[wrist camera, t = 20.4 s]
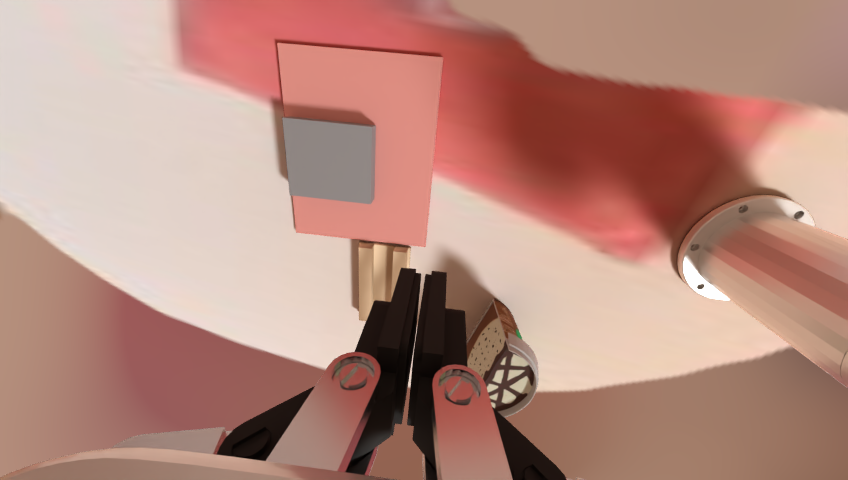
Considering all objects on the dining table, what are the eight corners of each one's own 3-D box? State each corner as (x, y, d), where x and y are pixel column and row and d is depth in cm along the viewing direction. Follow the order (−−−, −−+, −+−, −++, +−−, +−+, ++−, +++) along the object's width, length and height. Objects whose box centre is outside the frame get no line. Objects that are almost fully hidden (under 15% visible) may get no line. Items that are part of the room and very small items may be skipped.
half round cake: (496, 368, 46) (507, 435, 37) (458, 354, 46) (459, 419, 37) (541, 306, 41) (566, 367, 32) (498, 289, 40) (511, 346, 31)
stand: (410, 247, 39) (409, 253, 37) (405, 317, 44) (403, 325, 42) (359, 241, 39) (356, 247, 38) (360, 312, 44) (356, 319, 42)
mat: (443, 57, 30) (443, 57, 30) (425, 245, 39) (425, 247, 38) (279, 43, 31) (277, 42, 30) (298, 230, 39) (296, 232, 39)
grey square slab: (282, 117, 31) (289, 195, 35) (371, 126, 31) (370, 204, 34) (291, 116, 33) (297, 189, 36) (376, 124, 33) (374, 198, 36)
